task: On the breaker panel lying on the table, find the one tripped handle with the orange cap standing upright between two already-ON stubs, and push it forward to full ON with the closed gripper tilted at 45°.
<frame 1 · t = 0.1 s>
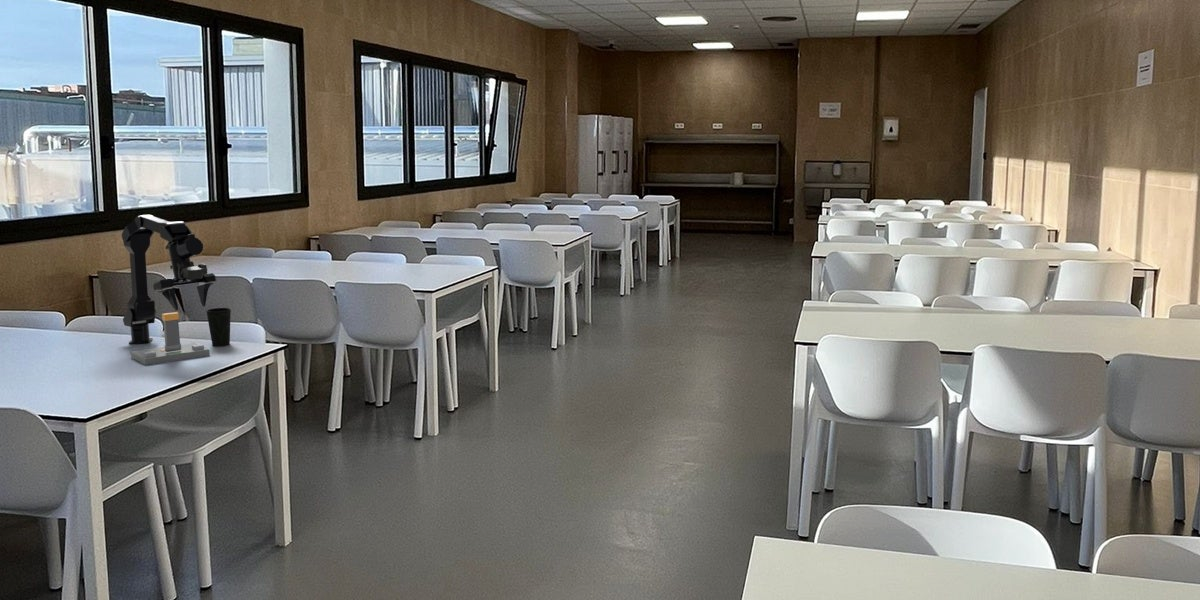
hand: (190, 308, 332), 15 cm above the table, tool pointing down, fingers open, 9 cm apart
cup: (221, 345, 350), on the table
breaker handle: (171, 332, 330), point 8 cm above the table, hinge at 0.0°
breaker panel: (170, 356, 333), on the table
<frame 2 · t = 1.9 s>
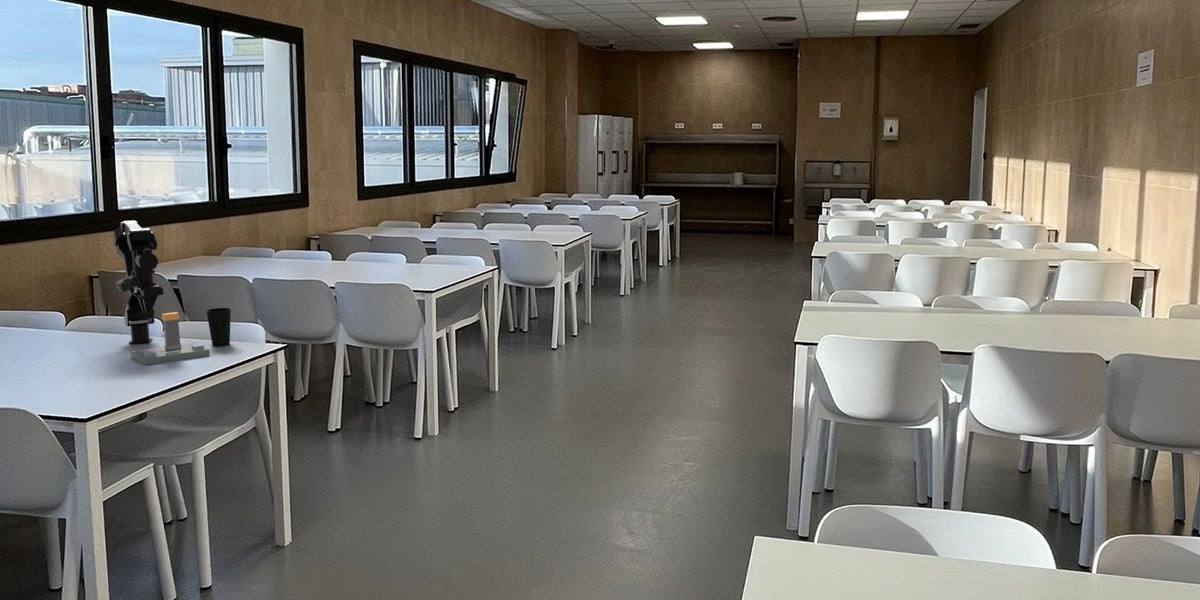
hand: (146, 314, 341), 12 cm above the table, tool pointing down, fingers closed
nothing on the table moved.
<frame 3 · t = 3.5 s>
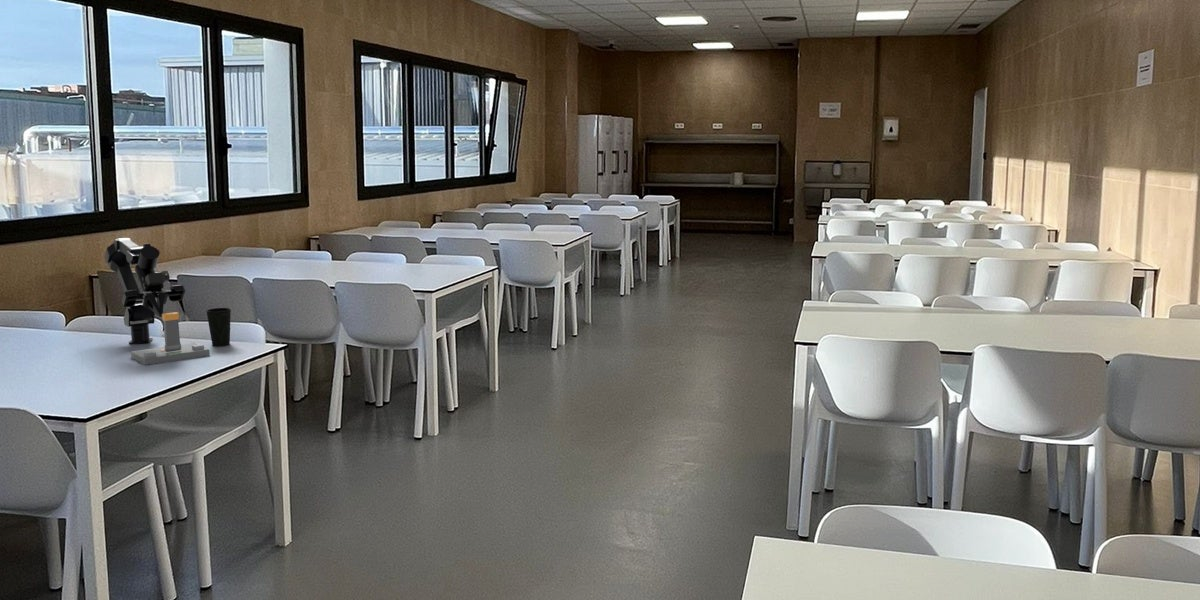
hand: (161, 316, 335), 12 cm above the table, tool tilted 45°, fingers closed
nothing on the table moved.
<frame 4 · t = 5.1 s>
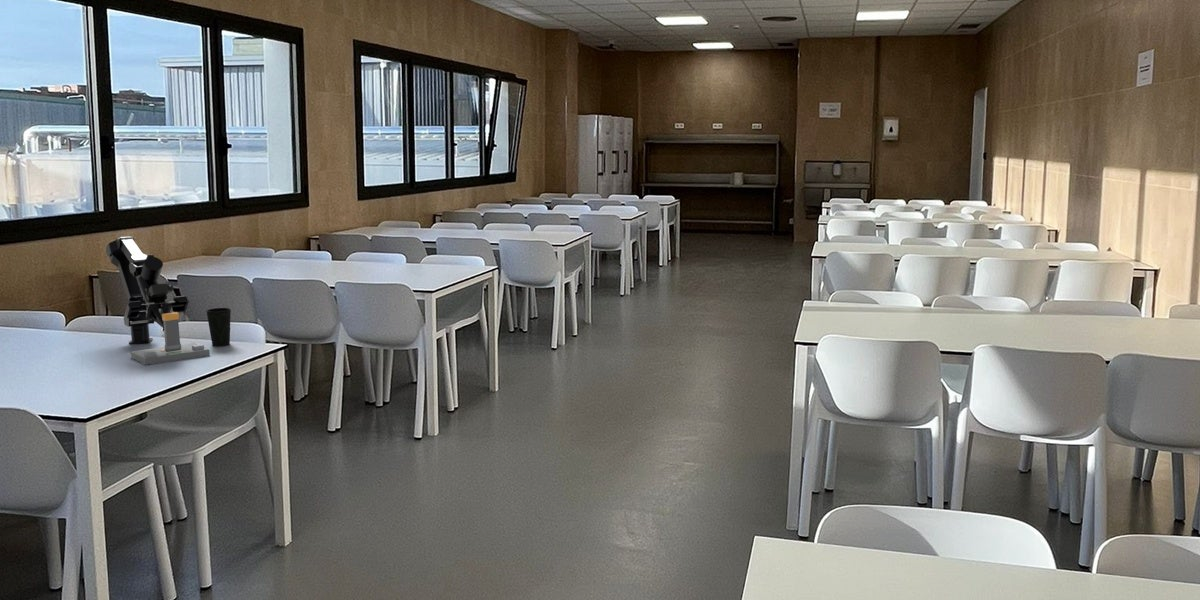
hand: (165, 327, 334), 9 cm above the table, tool tilted 45°, fingers closed
nothing on the table moved.
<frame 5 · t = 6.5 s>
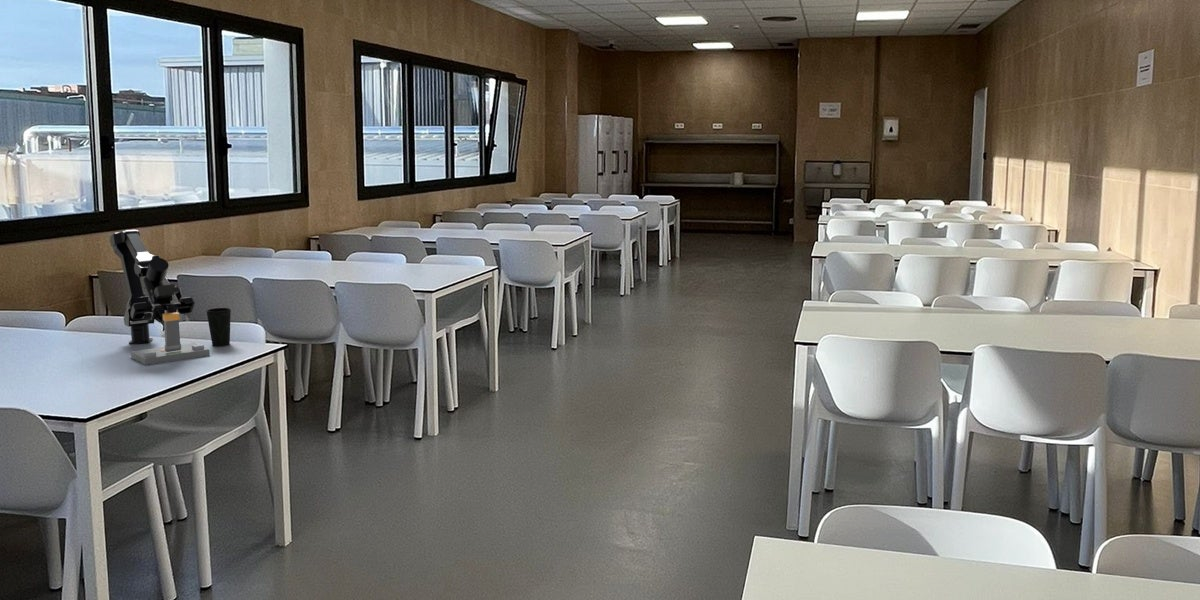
hand: (170, 329, 330), 9 cm above the table, tool tilted 45°, fingers closed, pressing on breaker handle
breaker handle: (172, 332, 329), point 8 cm above the table, hinge at 3.3°, touching gripper
everything else where it was.
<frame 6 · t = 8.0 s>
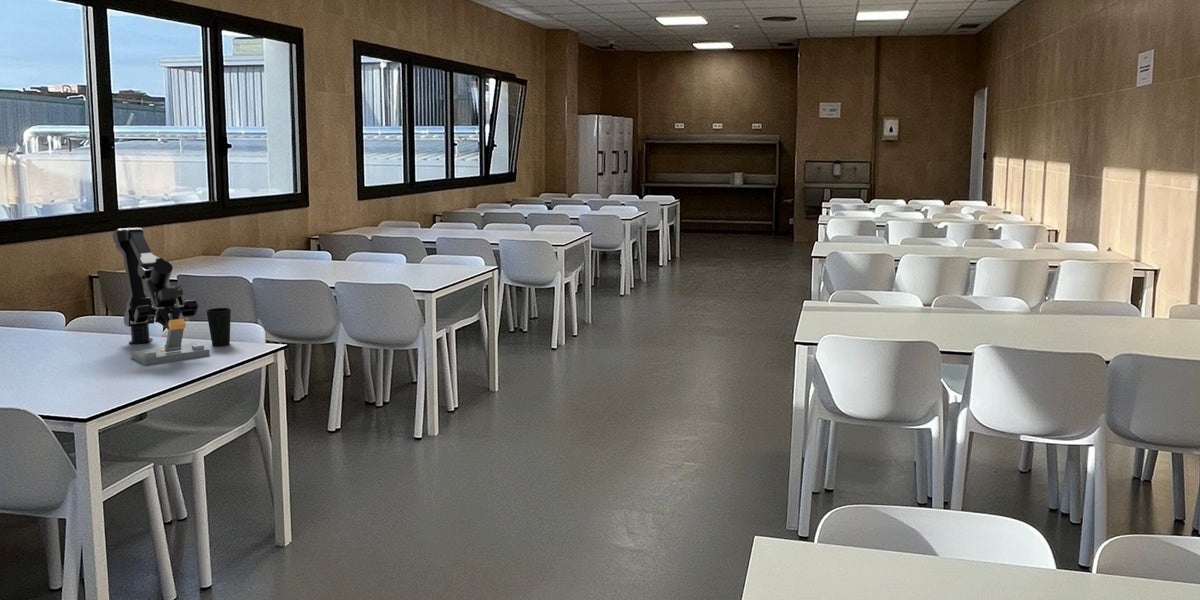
hand: (174, 332, 328), 9 cm above the table, tool tilted 45°, fingers closed, pressing on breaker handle
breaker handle: (174, 336, 328), point 8 cm above the table, hinge at 34.0°, touching gripper
everything else where it was.
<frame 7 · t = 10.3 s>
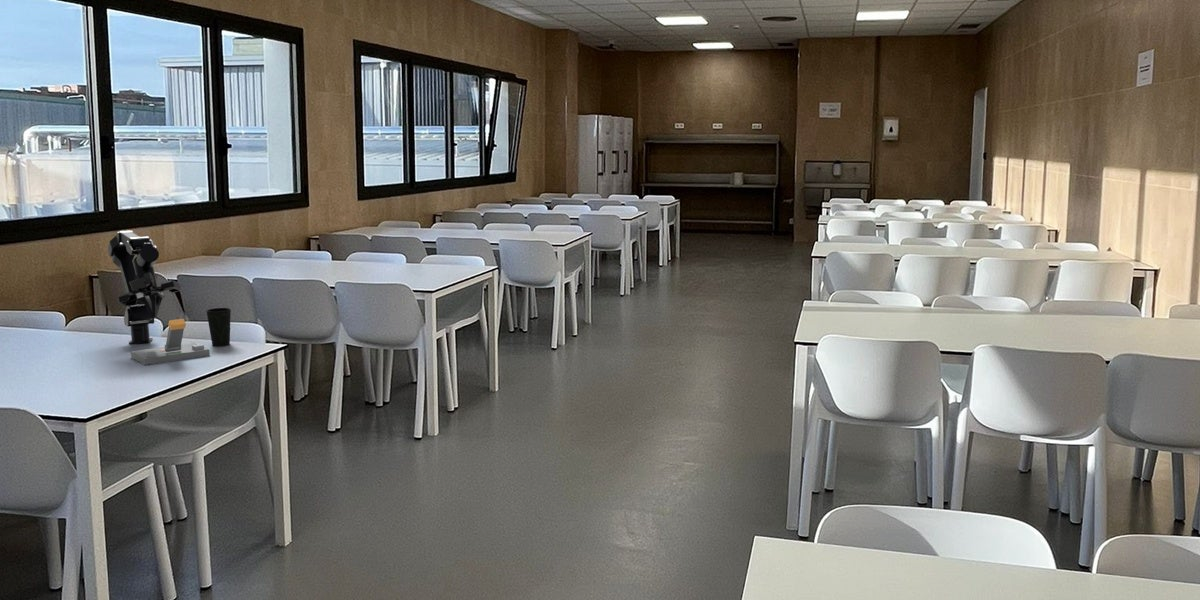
hand: (154, 317, 338), 11 cm above the table, tool tilted 25°, fingers closed
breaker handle: (174, 336, 328), point 8 cm above the table, hinge at 34.1°
everything else where it was.
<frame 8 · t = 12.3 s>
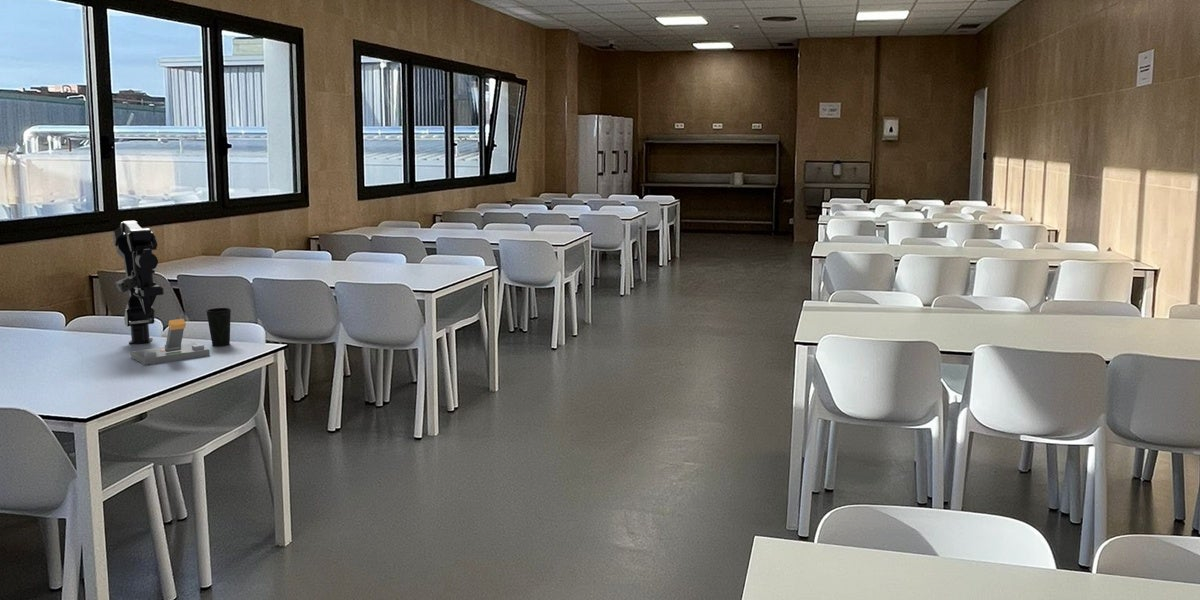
hand: (146, 314, 341), 12 cm above the table, tool pointing down, fingers closed
nothing on the table moved.
at the end: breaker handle at +34° (first picture: +0°); cup moved 0.2 cm from its start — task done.
